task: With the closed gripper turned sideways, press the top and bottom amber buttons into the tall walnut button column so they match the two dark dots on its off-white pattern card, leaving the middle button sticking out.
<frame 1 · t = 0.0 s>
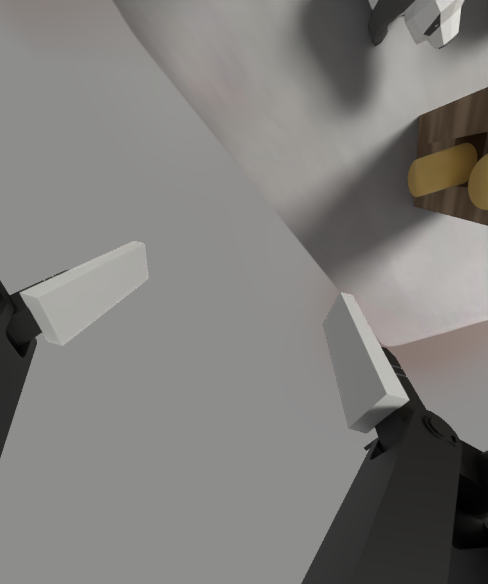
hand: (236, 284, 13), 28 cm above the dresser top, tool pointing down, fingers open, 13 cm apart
button low: (438, 171, 22), point 10 cm above the dresser top, slide at 0.0 cm
button column: (449, 153, 28), on the dresser top
giant panda: (385, 0, 22), on the dresser top
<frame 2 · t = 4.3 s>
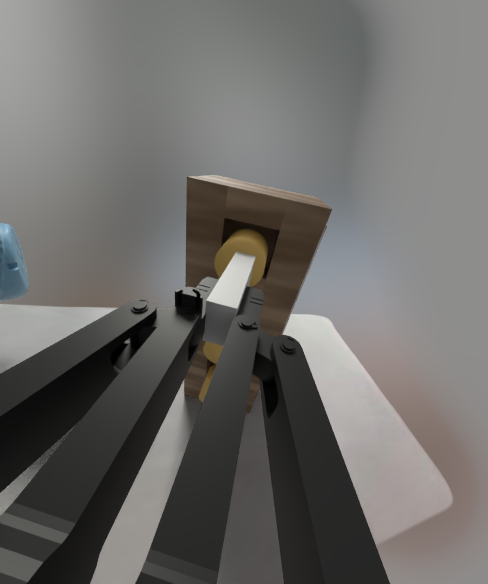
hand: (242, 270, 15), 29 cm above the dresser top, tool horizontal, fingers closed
button low: (218, 386, 26), point 10 cm above the dresser top, slide at 0.0 cm
button mid: (226, 339, 21), point 20 cm above the dresser top, slide at 0.0 cm
button top: (243, 257, 17), point 29 cm above the dresser top, slide at 0.9 cm, touching gripper
button column: (222, 382, 37), on the dresser top
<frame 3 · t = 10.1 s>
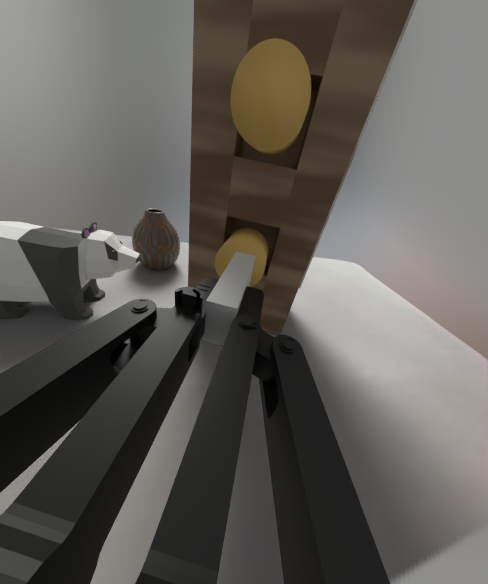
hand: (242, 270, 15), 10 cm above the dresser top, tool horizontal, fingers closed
button low: (243, 257, 17), point 10 cm above the dresser top, slide at 0.3 cm, touching gripper
vase: (158, 265, 33), on the dresser top
button mid: (271, 110, 11), point 20 cm above the dresser top, slide at 0.0 cm
button column: (239, 304, 28), on the dresser top
giant panda: (70, 306, 22), on the dresser top
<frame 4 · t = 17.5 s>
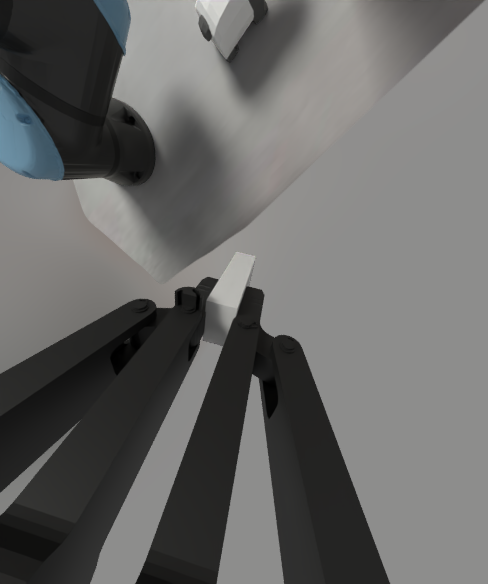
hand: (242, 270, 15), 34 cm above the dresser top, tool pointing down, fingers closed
giant panda: (245, 13, 30), on the dresser top
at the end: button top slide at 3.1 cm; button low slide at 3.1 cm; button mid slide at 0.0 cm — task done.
